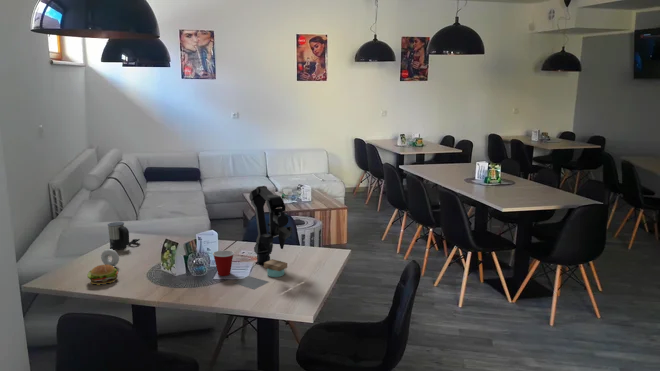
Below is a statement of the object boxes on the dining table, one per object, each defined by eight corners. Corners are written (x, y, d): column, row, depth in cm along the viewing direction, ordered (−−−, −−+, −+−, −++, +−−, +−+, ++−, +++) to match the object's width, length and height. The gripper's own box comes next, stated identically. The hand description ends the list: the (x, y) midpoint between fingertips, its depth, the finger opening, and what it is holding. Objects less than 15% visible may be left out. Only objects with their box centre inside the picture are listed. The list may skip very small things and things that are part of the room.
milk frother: (106, 249, 291) (103, 225, 288) (122, 241, 306) (120, 218, 303) (128, 251, 288) (126, 226, 285) (143, 242, 304) (141, 219, 301)
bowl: (264, 276, 249) (263, 268, 249) (274, 271, 256) (274, 263, 255) (276, 279, 245) (276, 271, 244) (287, 274, 252) (287, 266, 251)
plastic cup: (239, 273, 254) (238, 250, 251) (226, 280, 244) (225, 257, 242) (222, 269, 258) (221, 247, 256) (209, 276, 249) (208, 254, 246)
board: (263, 267, 250) (263, 262, 249) (272, 263, 255) (272, 259, 255) (279, 271, 244) (279, 266, 244) (287, 267, 250) (287, 262, 249)
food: (93, 276, 249) (91, 261, 248) (122, 275, 251) (120, 260, 249) (82, 287, 236) (80, 271, 234) (112, 286, 237) (111, 270, 236)
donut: (100, 267, 262) (98, 249, 260) (104, 265, 266) (103, 247, 264) (117, 268, 260) (115, 250, 258) (121, 266, 263) (119, 248, 262)
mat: (232, 284, 239) (232, 282, 239) (248, 277, 248) (248, 275, 248) (254, 290, 232) (254, 289, 232) (269, 283, 241) (269, 281, 240)
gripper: (275, 228, 234) (276, 259, 237) (299, 219, 249) (300, 249, 252) (257, 224, 240) (258, 255, 243) (282, 216, 255) (283, 245, 258)
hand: (275, 251), depth 249 cm, fingers open, 9 cm apart
